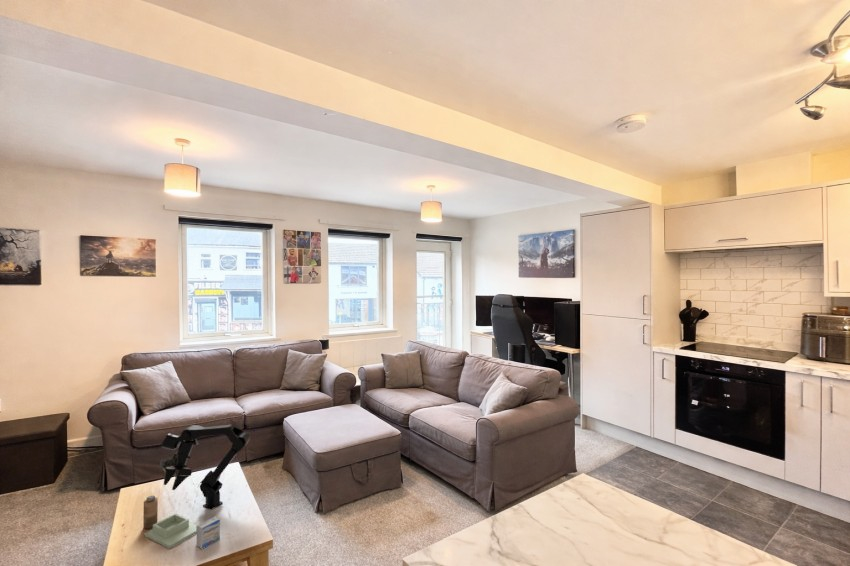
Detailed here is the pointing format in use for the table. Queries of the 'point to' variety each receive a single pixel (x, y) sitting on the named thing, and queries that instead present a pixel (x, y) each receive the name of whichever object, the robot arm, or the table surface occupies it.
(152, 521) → the pepper mill
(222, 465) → the robot arm
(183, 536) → the sage tray
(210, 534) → the medicine box
